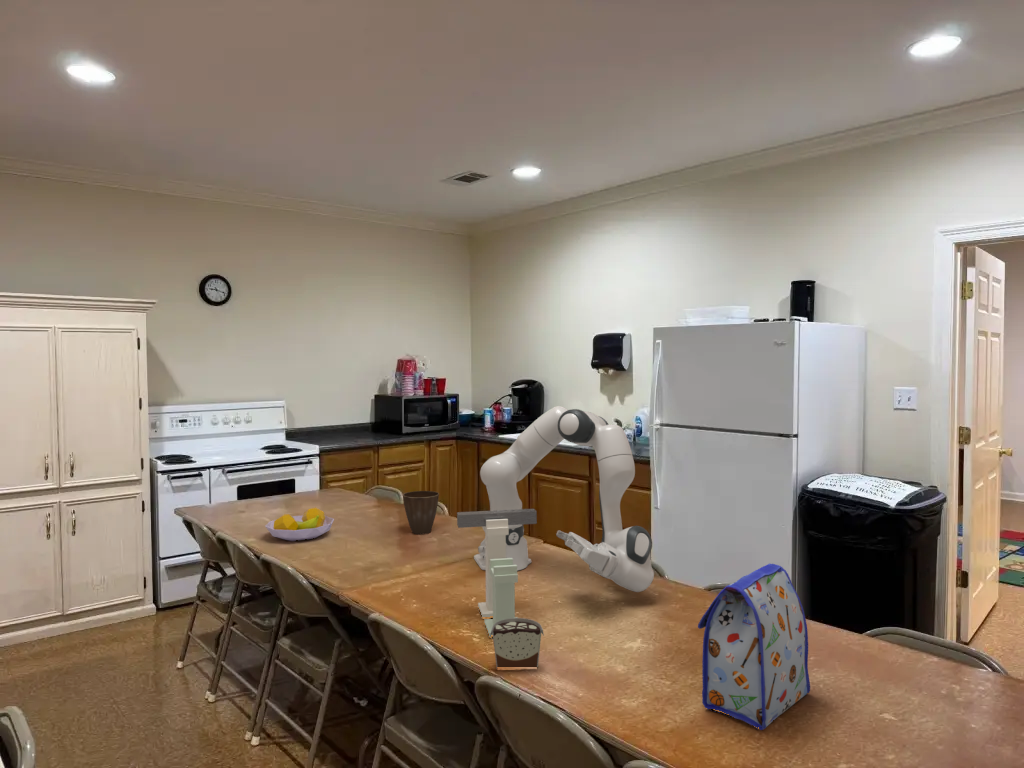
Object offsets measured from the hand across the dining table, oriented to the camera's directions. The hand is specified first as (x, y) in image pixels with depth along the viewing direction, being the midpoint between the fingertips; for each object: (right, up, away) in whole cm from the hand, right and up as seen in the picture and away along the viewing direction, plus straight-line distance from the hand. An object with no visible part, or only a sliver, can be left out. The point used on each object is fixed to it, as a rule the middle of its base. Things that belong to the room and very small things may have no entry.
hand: (561, 537), depth 194 cm
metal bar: (-18, +4, -4) cm, 19 cm away
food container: (-13, -22, -36) cm, 44 cm away
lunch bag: (+36, -22, -53) cm, 68 cm away
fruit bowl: (-100, -19, +82) cm, 130 cm away
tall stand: (-19, -21, -3) cm, 28 cm away
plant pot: (-52, -18, +88) cm, 103 cm away
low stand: (-16, -21, -16) cm, 31 cm away
